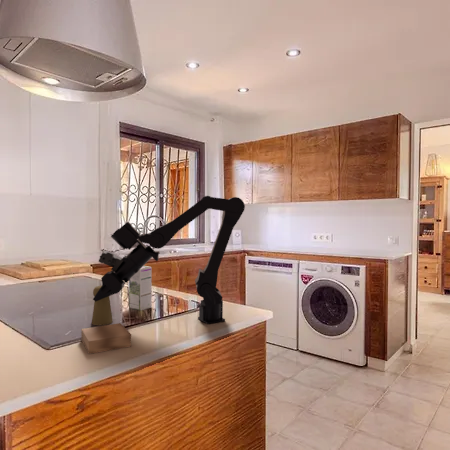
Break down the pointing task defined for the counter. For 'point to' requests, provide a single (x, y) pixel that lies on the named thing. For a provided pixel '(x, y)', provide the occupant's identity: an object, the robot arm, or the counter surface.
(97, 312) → the olive pepper mill
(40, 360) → the counter surface
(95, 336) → the plinth
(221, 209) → the robot arm
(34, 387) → the counter surface
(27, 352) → the counter surface
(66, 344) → the counter surface
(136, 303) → the syrup box
